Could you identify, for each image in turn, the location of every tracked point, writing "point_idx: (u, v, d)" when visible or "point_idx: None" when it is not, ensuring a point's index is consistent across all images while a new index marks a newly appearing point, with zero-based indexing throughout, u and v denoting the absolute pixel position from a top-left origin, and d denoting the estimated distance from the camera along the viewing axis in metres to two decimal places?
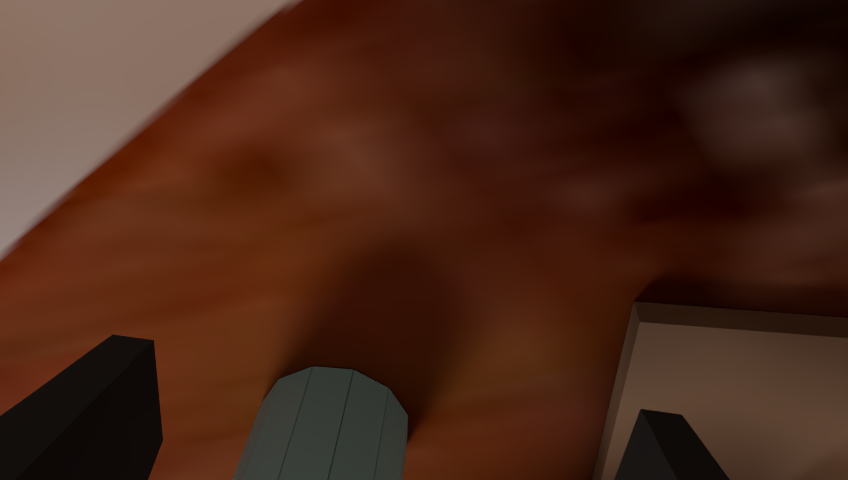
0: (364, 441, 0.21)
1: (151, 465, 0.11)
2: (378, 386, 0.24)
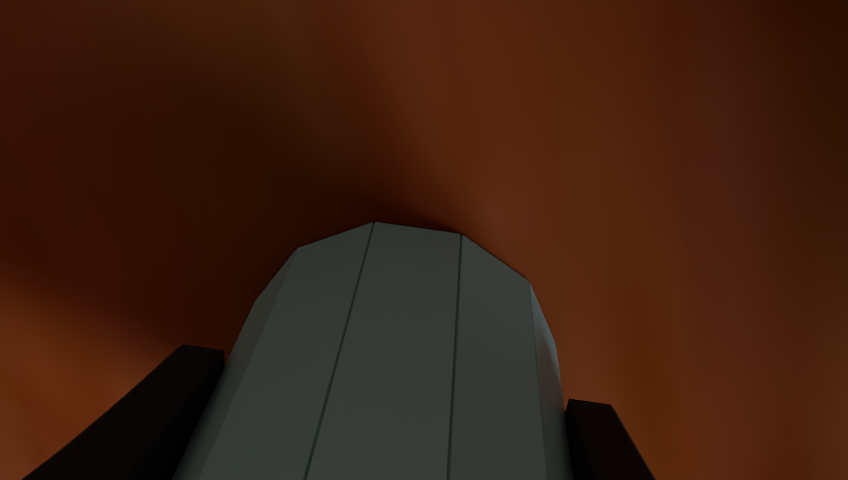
0: (230, 380, 0.09)
1: None
2: (281, 270, 0.11)
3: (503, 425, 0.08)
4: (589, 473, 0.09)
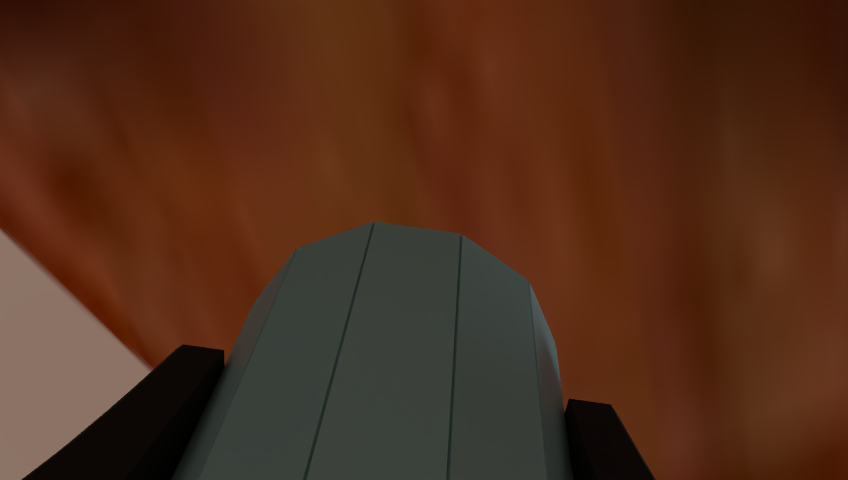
0: (230, 380, 0.09)
1: None
2: (281, 269, 0.11)
3: (503, 424, 0.08)
4: (588, 473, 0.09)
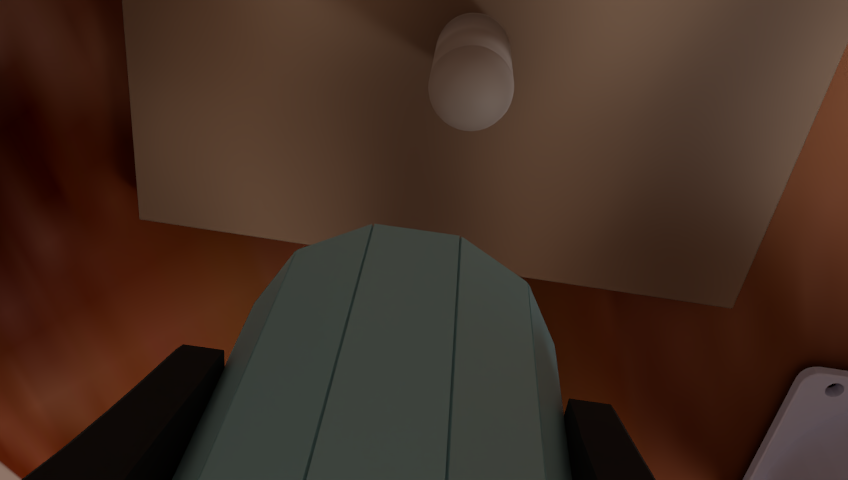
0: (230, 382, 0.09)
1: None
2: (281, 271, 0.11)
3: (501, 427, 0.08)
4: (588, 473, 0.09)
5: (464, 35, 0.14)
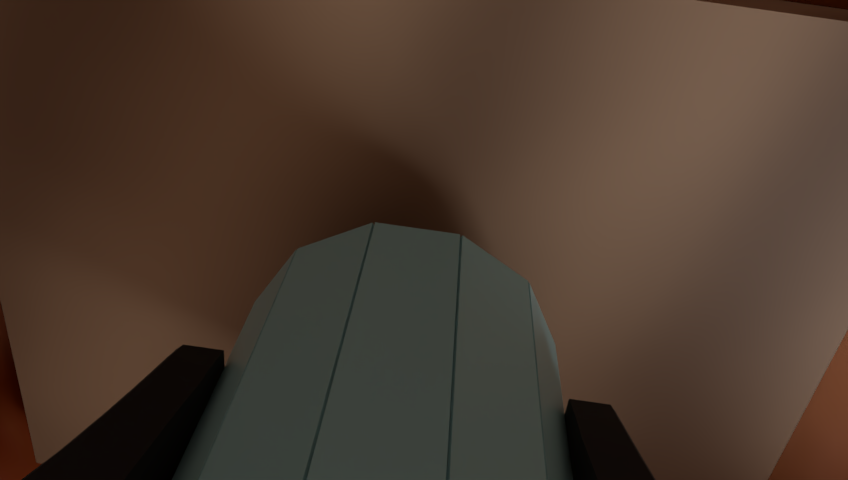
0: (230, 381, 0.09)
1: None
2: (281, 270, 0.11)
3: (502, 426, 0.08)
4: (588, 473, 0.09)
5: None
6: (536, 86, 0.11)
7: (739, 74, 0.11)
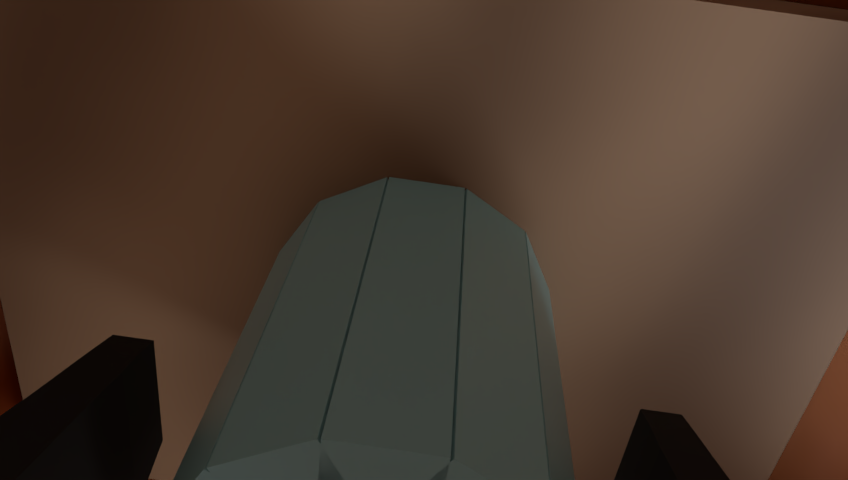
0: (265, 307, 0.11)
1: (151, 465, 0.11)
2: (305, 220, 0.13)
3: (502, 337, 0.09)
4: None
5: None
6: (536, 86, 0.11)
7: (739, 74, 0.11)
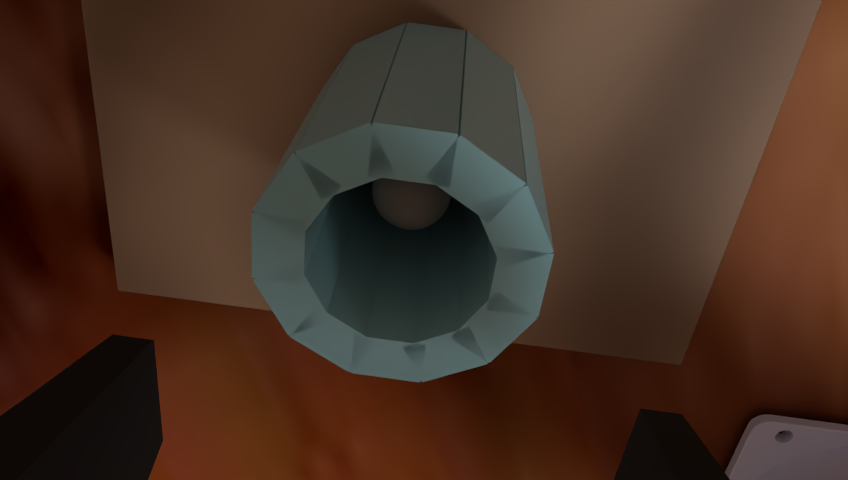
0: (318, 101, 0.14)
1: (151, 465, 0.11)
2: None
3: (493, 103, 0.13)
4: None
5: None
6: None
7: None
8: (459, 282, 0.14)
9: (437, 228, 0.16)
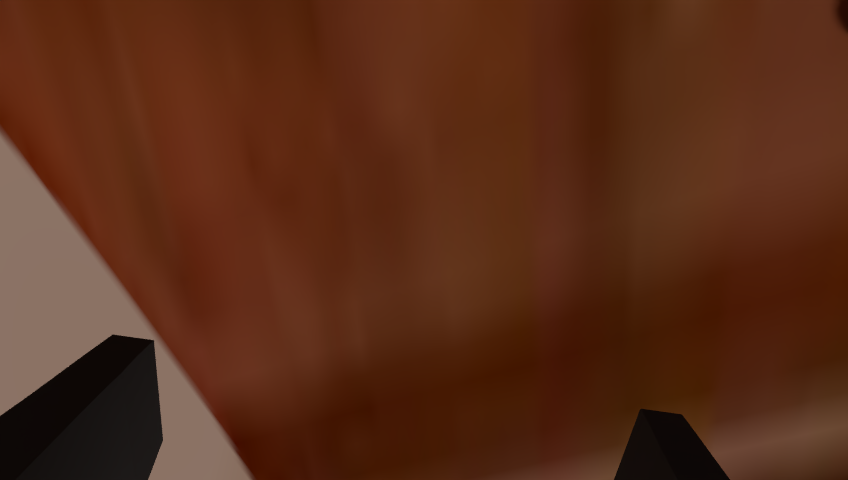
0: None
1: (151, 465, 0.11)
2: None
3: None
4: None
5: None
6: None
7: None
8: None
9: None
